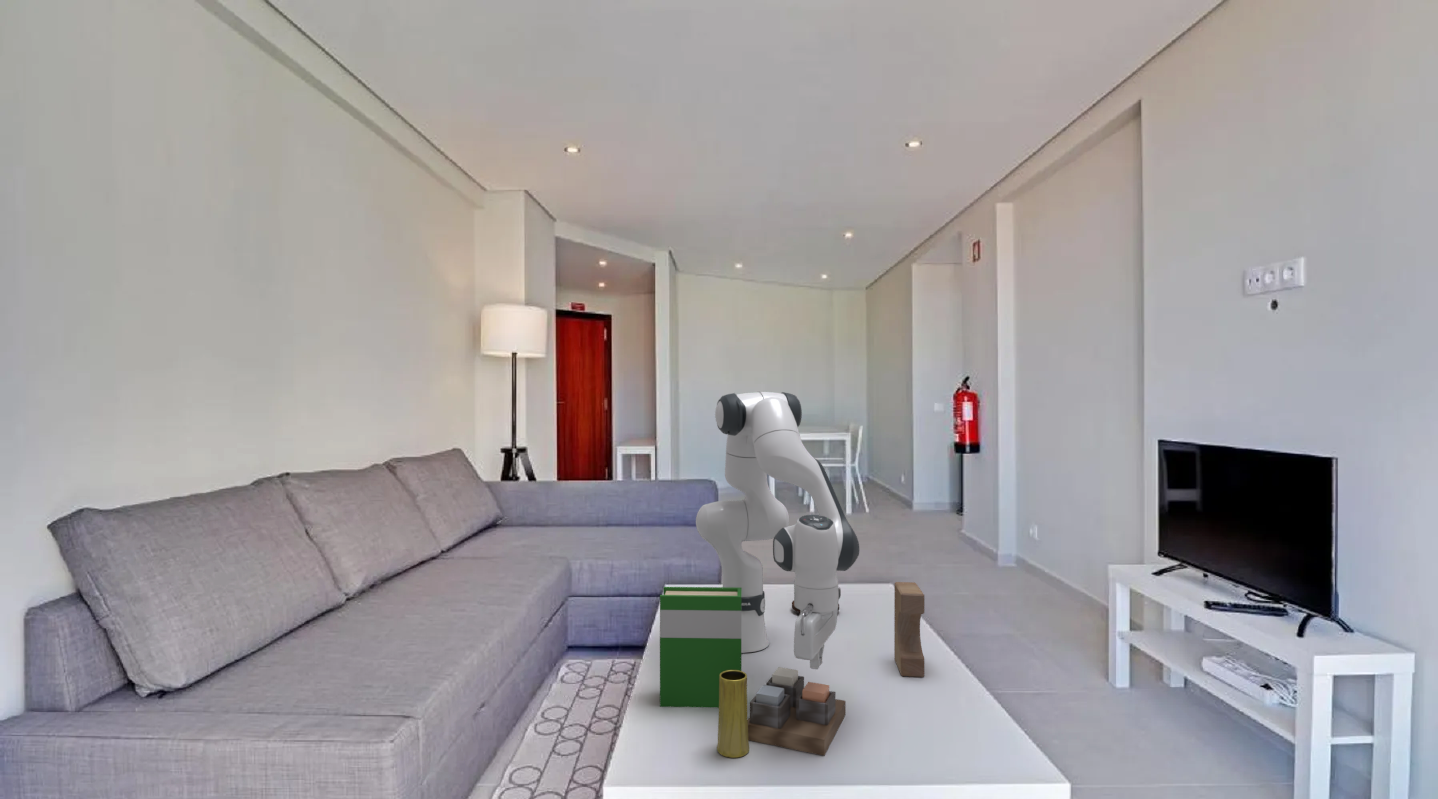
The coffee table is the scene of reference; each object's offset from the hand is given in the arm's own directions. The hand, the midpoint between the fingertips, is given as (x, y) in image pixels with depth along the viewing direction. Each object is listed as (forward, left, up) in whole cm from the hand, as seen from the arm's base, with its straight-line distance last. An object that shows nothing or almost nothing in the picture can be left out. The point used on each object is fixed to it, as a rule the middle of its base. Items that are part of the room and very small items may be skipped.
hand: (816, 666), depth 138 cm
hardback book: (-27, +4, -13) cm, 30 cm away
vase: (-13, -14, -13) cm, 23 cm away
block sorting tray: (-4, 0, -13) cm, 14 cm away
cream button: (-8, +5, -7) cm, 12 cm away
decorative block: (+13, +40, -13) cm, 44 cm away
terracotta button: (0, 0, -8) cm, 8 cm away
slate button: (-8, -5, -8) cm, 12 cm away
